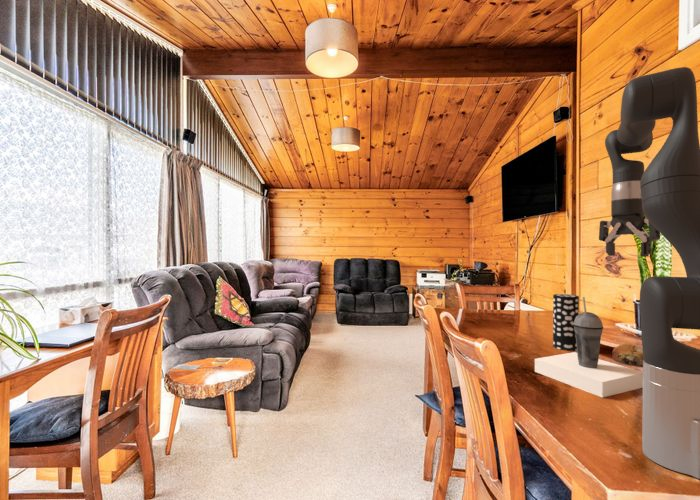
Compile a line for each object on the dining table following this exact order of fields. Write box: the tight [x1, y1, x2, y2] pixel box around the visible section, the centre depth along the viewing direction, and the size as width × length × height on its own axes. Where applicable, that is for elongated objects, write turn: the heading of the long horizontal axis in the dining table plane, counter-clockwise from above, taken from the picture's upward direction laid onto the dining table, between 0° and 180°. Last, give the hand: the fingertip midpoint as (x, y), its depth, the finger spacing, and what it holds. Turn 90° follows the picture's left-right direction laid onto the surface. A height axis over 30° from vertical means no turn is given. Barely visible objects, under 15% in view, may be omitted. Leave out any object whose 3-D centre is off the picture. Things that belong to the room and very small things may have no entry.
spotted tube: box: [552, 293, 580, 352], centre depth 133 cm, size 8×8×20 cm
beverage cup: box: [573, 296, 604, 368], centre depth 101 cm, size 7×7×20 cm
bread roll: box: [611, 342, 643, 367], centre depth 117 cm, size 10×10×8 cm
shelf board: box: [534, 351, 643, 399], centre depth 101 cm, size 20×18×4 cm
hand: (627, 255), depth 99 cm, fingers open, 8 cm apart
